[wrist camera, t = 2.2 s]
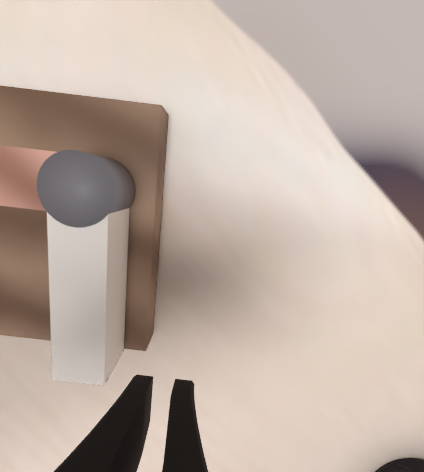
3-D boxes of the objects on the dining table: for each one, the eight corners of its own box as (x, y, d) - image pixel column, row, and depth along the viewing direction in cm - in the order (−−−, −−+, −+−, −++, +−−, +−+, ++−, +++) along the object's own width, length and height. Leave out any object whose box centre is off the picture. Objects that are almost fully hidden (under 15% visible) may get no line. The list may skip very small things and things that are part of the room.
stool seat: (152, 333, 19) (145, 351, 17) (-51, 311, 19) (-83, 326, 17) (168, 115, 16) (161, 105, 14) (-81, 85, 15) (-125, 70, 13)
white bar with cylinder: (75, 153, 14) (34, 145, 11) (136, 161, 14) (114, 154, 11) (76, 345, 17) (44, 382, 14) (127, 350, 17) (108, 389, 14)
